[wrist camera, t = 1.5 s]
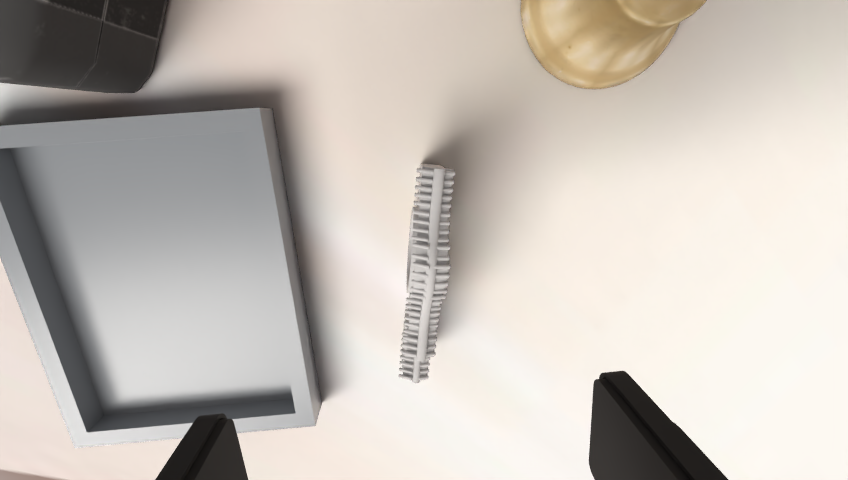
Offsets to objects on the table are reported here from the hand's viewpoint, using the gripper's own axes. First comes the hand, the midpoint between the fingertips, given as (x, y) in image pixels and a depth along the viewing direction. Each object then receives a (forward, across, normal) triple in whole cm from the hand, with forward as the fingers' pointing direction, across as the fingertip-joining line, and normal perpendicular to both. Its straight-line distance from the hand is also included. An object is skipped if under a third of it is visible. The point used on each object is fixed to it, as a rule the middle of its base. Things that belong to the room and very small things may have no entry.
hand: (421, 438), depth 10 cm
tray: (+14, +13, 0) cm, 19 cm away
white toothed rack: (+14, -1, 0) cm, 14 cm away
